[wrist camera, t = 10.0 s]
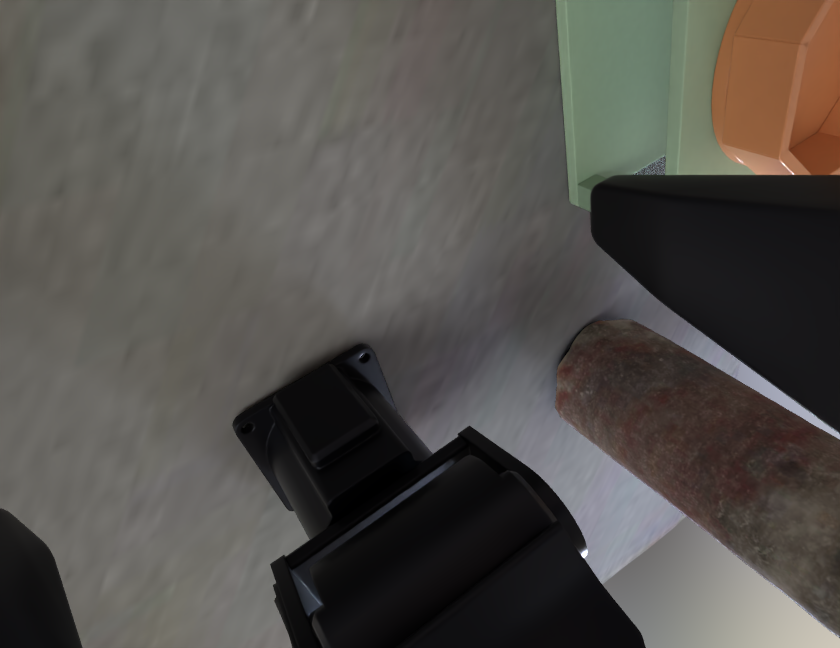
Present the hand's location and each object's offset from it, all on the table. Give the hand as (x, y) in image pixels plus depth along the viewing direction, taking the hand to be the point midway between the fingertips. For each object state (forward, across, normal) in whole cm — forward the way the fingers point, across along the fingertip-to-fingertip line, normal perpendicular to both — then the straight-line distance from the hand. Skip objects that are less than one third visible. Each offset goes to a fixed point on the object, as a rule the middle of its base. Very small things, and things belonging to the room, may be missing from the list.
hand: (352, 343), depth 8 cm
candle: (+13, -17, +22) cm, 31 cm away
